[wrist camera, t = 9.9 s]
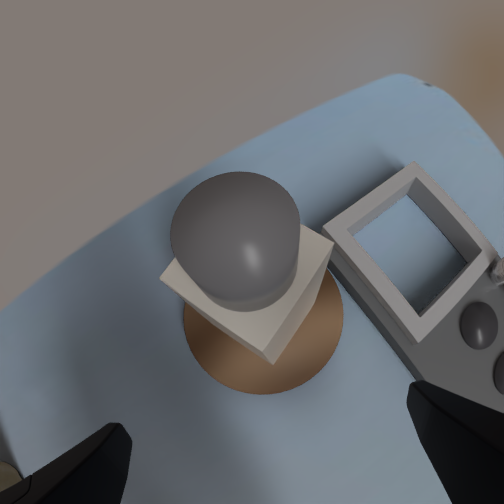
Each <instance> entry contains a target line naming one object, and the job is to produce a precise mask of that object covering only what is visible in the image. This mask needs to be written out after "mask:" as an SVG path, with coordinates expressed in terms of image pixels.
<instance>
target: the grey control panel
mask: <svg viewBox="0 0 504 504" xmlns="http://www.w3.org/2000/svg"><path fill="white" fill-rule="evenodd" d="M406 194H407V195H408V196H409V197H410V198H411V199H412V200H413V201H414V202H415V203H416V204H417V205H418V206H419V207H420V208H421V209H422V210H423V211H424V212H425V214H426V215H427V216H428V217H429V218H430V219H431V220H432V221H433V222H434V224H435V225H436V226H437V227H438V228H439V229H440V230H441V231H442V233H443V234H444V235H445V236H446V237H447V238H448V240H449V241H450V242H451V243H452V244H453V245H454V247H455V248H456V249H457V250H458V251H459V253H460V254H461V255H462V256H463V258H464V259H465V260H466V261H467V264H466V265H465V266H464V267H463V268H462V270H461V271H460V272H459V273H458V274H457V275H456V276H455V277H454V278H453V279H452V281H451V282H450V283H449V284H448V285H447V286H446V287H445V288H444V289H443V290H442V291H441V292H440V293H439V294H438V295H437V296H436V297H435V298H434V299H433V300H432V301H431V302H430V303H429V304H428V305H427V306H426V307H425V308H424V309H423V310H422V311H421V312H420V313H419V314H417V313H416V312H415V311H414V309H413V308H412V307H411V305H410V304H409V303H408V302H407V300H406V299H405V298H404V297H403V295H402V294H401V293H400V292H399V290H398V289H397V288H396V287H395V286H394V284H393V283H392V282H391V281H390V279H389V278H388V277H387V276H386V275H385V273H384V272H383V271H382V270H381V269H380V267H379V266H378V265H377V264H376V263H375V262H374V260H373V259H372V258H371V257H370V256H369V255H368V253H367V252H366V251H365V250H364V249H363V248H362V246H361V245H360V244H359V243H358V242H357V241H356V240H355V238H354V237H353V235H354V234H356V233H357V232H358V231H360V230H361V229H362V228H364V227H365V226H366V225H367V224H369V223H370V222H371V221H373V220H374V219H375V218H377V217H378V216H379V215H381V214H382V213H383V212H384V211H386V210H387V209H388V208H390V207H391V206H392V205H393V204H395V203H396V202H397V201H399V200H400V199H401V198H402V197H404V196H405V195H406ZM320 235H322V236H323V237H325V238H327V239H329V240H330V241H332V242H334V245H333V249H332V252H331V255H330V258H329V261H328V264H327V267H328V268H329V269H330V270H331V272H332V273H333V274H334V275H335V277H336V278H337V279H338V280H339V281H340V283H341V284H342V285H343V286H344V288H345V289H346V290H347V291H348V292H349V294H350V295H351V296H352V297H353V299H354V300H355V301H356V302H357V304H358V305H359V306H360V307H361V309H362V310H363V311H364V312H365V314H366V315H367V316H368V318H369V319H370V320H371V321H372V323H373V324H374V325H375V326H376V328H377V329H378V330H379V332H380V333H381V334H382V335H383V337H384V338H385V339H386V341H387V342H388V343H389V344H390V346H391V347H392V348H393V350H394V351H395V352H396V354H397V355H398V356H399V358H400V359H401V360H402V361H403V363H404V364H405V365H406V367H407V368H408V369H409V371H410V372H411V373H412V375H413V376H414V378H415V379H416V380H417V381H418V380H425V381H427V382H429V383H432V384H434V385H436V386H439V387H441V388H443V389H446V390H448V391H450V392H453V393H455V394H458V395H460V396H462V397H465V398H467V399H470V400H472V401H474V402H477V403H479V404H482V405H484V406H487V407H489V408H492V409H494V410H497V411H499V412H502V413H504V284H502V285H501V286H497V285H495V284H494V283H493V282H492V281H491V279H490V276H489V270H490V268H491V266H492V265H494V264H495V263H496V262H498V261H499V260H501V258H500V257H499V255H498V252H497V251H496V250H495V249H494V247H493V246H492V245H491V244H490V242H489V241H488V240H487V239H486V237H485V236H484V235H483V234H482V232H481V231H480V230H479V229H478V228H477V227H476V225H475V224H474V223H473V222H472V221H471V220H470V218H469V217H468V216H467V215H466V214H465V213H464V212H463V210H462V209H461V208H460V207H459V206H458V205H457V204H456V203H455V202H454V201H453V199H452V198H451V197H450V196H449V195H448V194H447V193H446V192H445V191H444V190H443V189H442V188H441V187H440V186H439V185H438V184H437V183H436V182H435V181H434V180H433V179H432V178H431V177H430V176H429V175H428V174H427V173H426V172H425V171H424V170H423V169H422V168H421V167H420V166H419V165H418V164H417V163H416V162H415V161H413V162H411V163H410V164H409V165H407V166H406V167H405V168H403V169H402V170H400V171H399V172H398V173H396V174H395V175H393V176H392V177H391V178H389V179H388V180H387V181H385V182H384V183H382V184H381V185H380V186H378V187H377V188H375V189H374V190H373V191H371V192H370V193H368V194H367V195H366V196H364V197H363V198H361V199H360V200H359V201H357V202H356V203H354V204H353V205H352V206H350V207H349V208H347V209H346V210H345V211H343V212H342V213H340V214H339V215H337V216H336V217H335V218H333V219H332V220H330V221H329V222H328V223H326V224H325V225H323V226H322V231H321V233H320Z"/></svg>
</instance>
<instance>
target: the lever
mask: <svg viewBox="0 0 504 504" xmlns="http://www.w3.org/2000/svg"><path fill="white" fill-rule="evenodd" d="M489 276H490V279H491V281H492V282H493V283H494V284H495V285H497V286H501V285H502V284H504V257H503V258H502V259H501V260H499V261H498V262H496V263H495V264H494V265H492V266H491V268H490V270H489Z"/></svg>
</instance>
